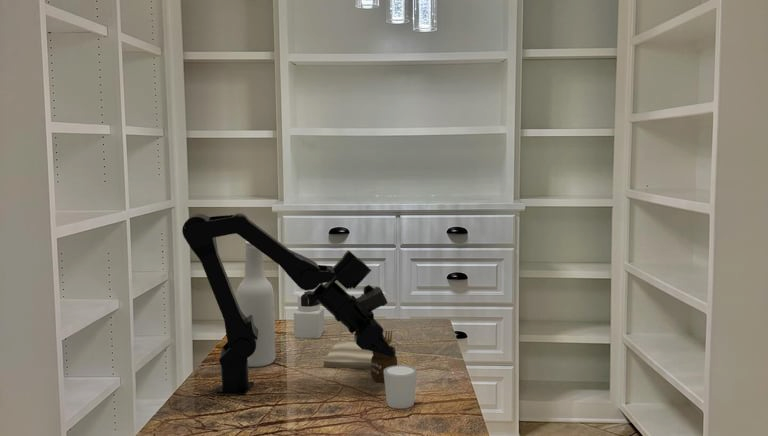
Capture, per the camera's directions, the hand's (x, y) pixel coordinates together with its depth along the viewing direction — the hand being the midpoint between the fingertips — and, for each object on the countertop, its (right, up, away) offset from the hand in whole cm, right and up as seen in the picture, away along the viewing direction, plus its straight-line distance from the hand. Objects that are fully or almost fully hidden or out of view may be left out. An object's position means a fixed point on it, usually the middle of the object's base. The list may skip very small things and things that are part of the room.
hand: (389, 348), depth 151 cm
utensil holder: (-1, -7, +1) cm, 7 cm away
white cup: (+2, -9, -14) cm, 16 cm away
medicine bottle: (-22, -3, +36) cm, 42 cm away
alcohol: (-32, -6, +13) cm, 35 cm away
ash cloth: (-8, -5, +15) cm, 18 cm away
